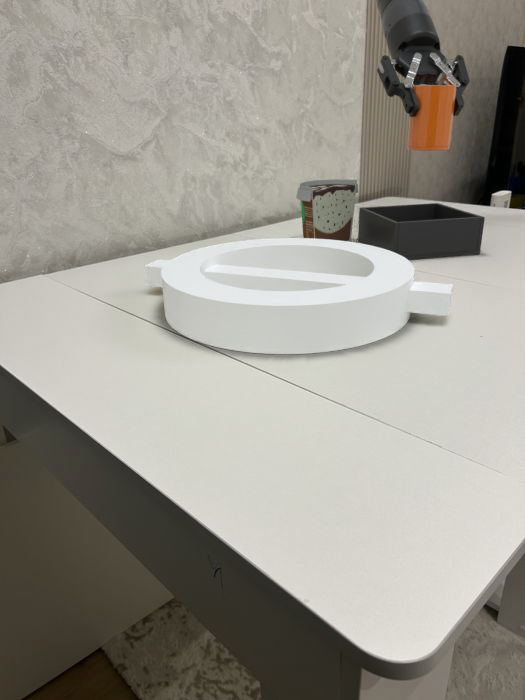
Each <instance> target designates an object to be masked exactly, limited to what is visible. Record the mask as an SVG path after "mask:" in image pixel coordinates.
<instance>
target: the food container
mask: <svg viewBox="0 0 525 700" xmlns="http://www.w3.org/2000/svg"><path fill="white" fill-rule="evenodd" d="M358 193H359V183H358V180H357V179H345V178H344V179H343V178H339V179H338V178H336V179H335V178H334V179H333V178H329V179H315V180H307V181H302V182H300V183H299V187H298V188H297V192H296V196H295V197H296V199H297V200H300V210H301V211H300V212H301V223H302V224H301V227H302V238H314V239H329V240H340V241H348V242H352V234H353V225H354V215H355V207H356V197H357V196H356V195H357V194H358Z"/></svg>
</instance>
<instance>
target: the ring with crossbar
mask: <svg viewBox="0 0 525 700" xmlns="http://www.w3.org/2000/svg"><path fill="white" fill-rule="evenodd" d="M143 269H144V277H145V278H144V279H145V286H146V287H153V288H154V287H156V288H162V297H163V307H164V317H165V320H166V322H167V324H168V325H169V326H170V327H171V328H172V329H173V330H174V331H175V332H177V333H179V334H180V335H182V336H184V337H186V338H188V339H190V340H193V341H195V342H197V343H201V344H204V345H207V346H211V347H215V348H219V349H225V350H229V351H236V352H243V353H251V354H252V353H253V354H265V355H266V354H267V355H303V354H304V355H307V354H319V353H320V354H321V353H328V352H335V351H341V350H348V349H353V348H357V347H361V346H365V345H368V344H372V343H375V342H377V341H381V340H382V339H385V338H387V337H389V336H392V335H394V334H395V333H397V332H398V331H399V330H401V329H402V328H403V327H405V326H406V324H407V323H408V321H409V320H410V318H411V313H413V314H422V315H423V314H424V315H430V316H431V315H432V316H440V317H441V316H442V317H448V316H449V313H450V308H451V302H452V296H453V295H452V294H453V287H454V286H453V283H440V282H429V281H428V282H427V281H416V280H415V273H416V271H415V270H416V269H415V266H414V264H413V263H412V262H411V260H407V259H406V258H405V257H403V256H401V255H399V254H397V253H394V252H392V251H389V250H386V249H383V248H379V247H375V246H371V245H366V244H362V243H361V242H354V241H351V242H348V241H340V240H329V239H314V238H303V237H275V238H274V237H273V238H272V237H271V238H256V239H255V238H254V239H245V240H237V241H236V240H235V241H229V242H223V243H218V244H213V245H208V246H203V247H200V248H195V249H193V250H190V251H187V252H184V253H182V254H179V255H178V256H175V257H173V258H171V259H156V260H154V261H152V262H149V263H148V264H145V265H144V266H143Z"/></svg>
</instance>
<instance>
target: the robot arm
mask: <svg viewBox="0 0 525 700" xmlns="http://www.w3.org/2000/svg"><path fill="white" fill-rule="evenodd" d="M374 1H375V5H376V9H377V13H378V15H379V19H380V22H381V25H382V31H383V36H384V40H385V43H386V44H387V49H388V52H389V55H390V57H389V56H388V55H385V54H384V55H382V56H381V59H380V62H379V64H378V68H377V69H376V72H377V74H378V77H379V79H380V81H381V84H382V86H383V89H384V90H385V93H386V95H387V96H388V97H390V98H393V97H395V96H397V97H398V98H399V99H400V100H401V102H402V105H403V109H404V111H405V113H406V114H408V115H409V118H410V117H415V116H416V115H417V113H418V111H419V108H420V105H419V102H418V99H417V96H416V93H415V90H414V88H412V87H413V86H422V85H425V86H432V85H447V84H448V85H457V87H456V96H455V105H454V114H453V117H458V116H459V115H460V113H461V111H462V110H463V108H464V107H465V100H464V97H463V94H464V93H465V90H466V88H467V87H468V86H469V84H470V82H471V80H470V77H469V73H468V69H467V65H466V62H465V58H464V56H463V55H461V54H457V55H455V56H456V57H455V58H454V59H452V58H447V56H445V54H444V53H443V52H442V51H441V41H440V37H439V35H438V32H437V29H436V26H435V24H434V21H433V18H432V16H431V13H430V10H429V8H428V6H427V5H426V3H425V2H424V0H374ZM397 73H398V74H399V75H400V76H401V77H402V78H403V81H402V82H401V81H400V79H399V76H398V74H397ZM440 76H441V77H440ZM439 78H440V79H439ZM438 79H439V80H438Z"/></svg>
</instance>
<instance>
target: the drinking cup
mask: <svg viewBox="0 0 525 700" xmlns="http://www.w3.org/2000/svg"><path fill="white" fill-rule="evenodd" d="M456 87H457V85H450V84H446V85H432V86H431V85H413V86H412V87H411V88H414V90H415V93H416V96H417V99H418V102H419V105H420V108H419V111H418V113H417V115H416V116H415V117H410V116H409V122H408V132H407V145H406V146H407V150H408V151H419V152H421V151H422V152H423V151H424V152H425V151H427V152H428V151H429V152H430V151H431V152H433V151H434V152H435V151H448V150H450V147H451V142H452V141H451V140H452V131H453V123H454V116H453V114H454V105H455V96H456Z"/></svg>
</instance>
